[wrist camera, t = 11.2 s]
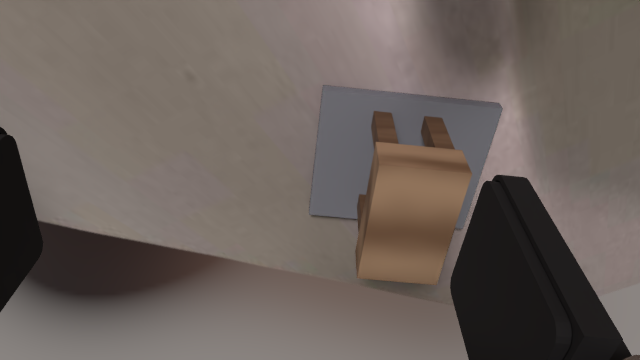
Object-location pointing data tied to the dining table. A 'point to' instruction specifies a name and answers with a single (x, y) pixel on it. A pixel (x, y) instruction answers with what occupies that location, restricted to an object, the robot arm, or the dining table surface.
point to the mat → (408, 114)
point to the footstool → (409, 203)
